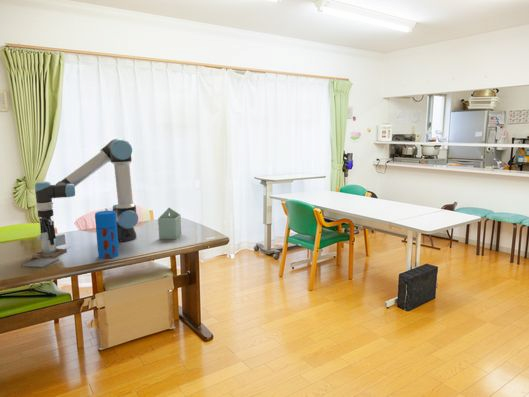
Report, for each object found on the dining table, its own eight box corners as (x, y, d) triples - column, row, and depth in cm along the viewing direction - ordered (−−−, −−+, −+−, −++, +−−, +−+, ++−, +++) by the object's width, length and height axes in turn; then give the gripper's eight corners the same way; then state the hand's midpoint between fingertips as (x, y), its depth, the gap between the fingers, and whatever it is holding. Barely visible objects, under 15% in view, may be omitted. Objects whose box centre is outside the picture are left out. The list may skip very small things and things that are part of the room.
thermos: (102, 253, 217) (98, 210, 212) (121, 252, 218) (118, 210, 213) (95, 259, 206) (91, 214, 202) (115, 258, 207) (112, 214, 203)
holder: (66, 252, 218) (66, 248, 218) (52, 258, 207) (51, 255, 206) (48, 251, 220) (48, 247, 220) (32, 257, 209) (32, 254, 209)
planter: (165, 241, 240) (163, 211, 236) (159, 238, 245) (157, 209, 242) (187, 236, 251) (186, 207, 247) (181, 234, 256) (179, 205, 253)
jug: (43, 258, 208) (40, 235, 205) (38, 255, 212) (35, 233, 210) (68, 252, 218) (66, 230, 216) (63, 250, 222) (60, 228, 220)
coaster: (58, 260, 205) (58, 258, 205) (42, 267, 193) (42, 266, 193) (39, 258, 207) (39, 257, 207) (22, 266, 195) (21, 265, 195)
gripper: (59, 210, 206) (63, 250, 210) (45, 206, 218) (49, 244, 222) (45, 212, 200) (49, 254, 204) (31, 208, 213) (35, 247, 216)
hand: (49, 248), depth 213 cm, fingers closed on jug, 7 cm apart
